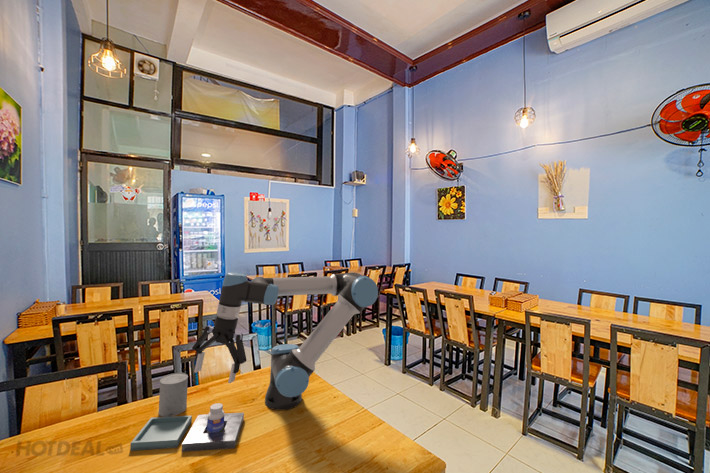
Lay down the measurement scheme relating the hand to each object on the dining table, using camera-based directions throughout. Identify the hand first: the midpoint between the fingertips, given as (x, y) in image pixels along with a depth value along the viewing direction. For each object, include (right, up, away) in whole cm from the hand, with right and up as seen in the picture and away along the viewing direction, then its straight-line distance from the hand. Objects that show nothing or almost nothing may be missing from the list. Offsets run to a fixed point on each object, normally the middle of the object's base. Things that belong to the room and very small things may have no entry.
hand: (214, 376), depth 109 cm
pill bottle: (+1, -20, -2) cm, 20 cm away
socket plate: (+1, -19, -2) cm, 19 cm away
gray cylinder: (-22, -18, +12) cm, 31 cm away
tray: (-16, -19, -3) cm, 25 cm away
